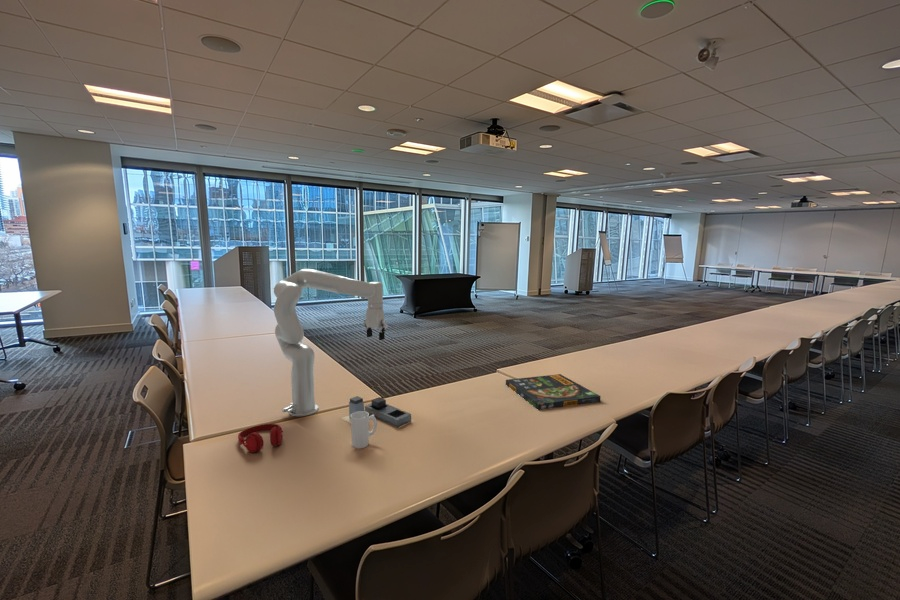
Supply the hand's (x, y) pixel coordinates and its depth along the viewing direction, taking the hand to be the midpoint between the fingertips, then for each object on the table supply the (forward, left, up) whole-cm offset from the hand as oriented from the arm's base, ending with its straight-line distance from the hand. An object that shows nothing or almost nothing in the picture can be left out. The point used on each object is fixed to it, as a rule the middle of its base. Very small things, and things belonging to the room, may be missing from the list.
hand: (375, 338), depth 197 cm
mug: (-38, -40, -29) cm, 62 cm away
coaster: (-27, -20, -29) cm, 44 cm away
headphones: (-63, -8, -29) cm, 70 cm away
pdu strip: (-17, -29, -29) cm, 44 cm away
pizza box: (+59, -71, -29) cm, 97 cm away
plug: (-27, -20, -28) cm, 44 cm away
